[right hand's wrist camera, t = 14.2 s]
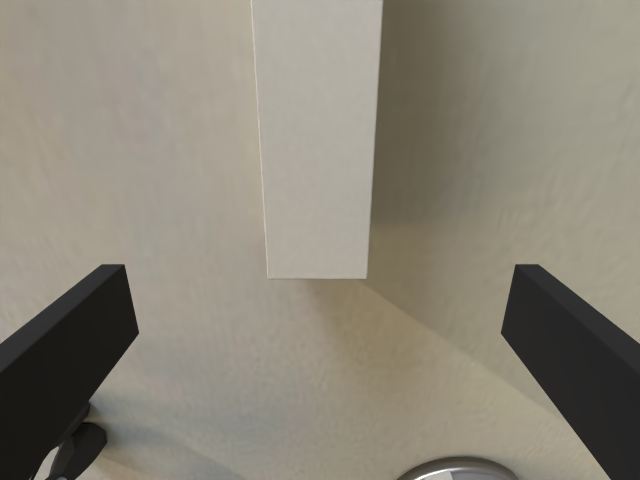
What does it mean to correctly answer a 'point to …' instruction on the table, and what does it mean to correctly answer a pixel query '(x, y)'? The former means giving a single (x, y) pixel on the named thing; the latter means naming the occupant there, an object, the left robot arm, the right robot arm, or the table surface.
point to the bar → (317, 132)
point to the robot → (76, 449)
